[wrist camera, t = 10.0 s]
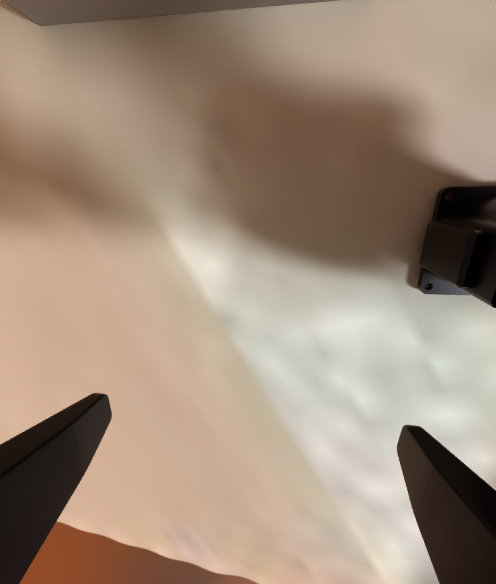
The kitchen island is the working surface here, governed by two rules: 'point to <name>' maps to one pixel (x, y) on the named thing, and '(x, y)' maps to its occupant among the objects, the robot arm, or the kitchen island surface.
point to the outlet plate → (127, 8)
